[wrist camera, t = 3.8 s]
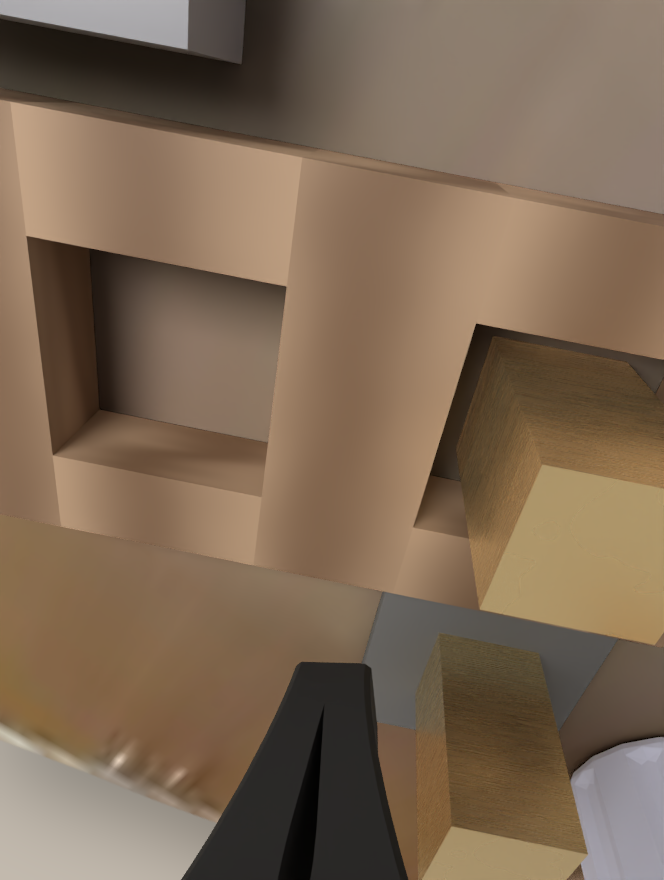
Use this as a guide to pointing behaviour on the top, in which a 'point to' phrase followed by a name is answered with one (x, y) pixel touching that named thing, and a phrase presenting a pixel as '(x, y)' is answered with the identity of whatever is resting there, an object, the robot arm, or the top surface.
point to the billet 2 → (491, 769)
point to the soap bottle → (623, 811)
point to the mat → (420, 621)
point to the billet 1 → (566, 491)
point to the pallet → (287, 335)
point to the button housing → (144, 22)
